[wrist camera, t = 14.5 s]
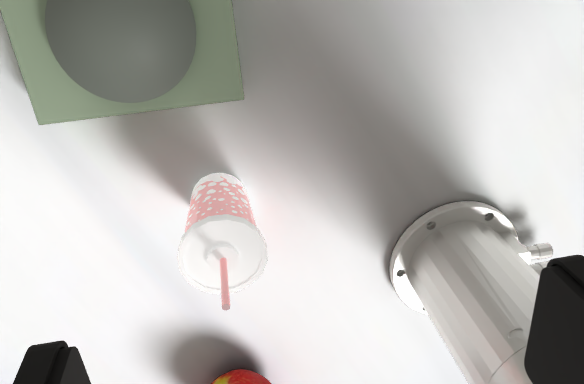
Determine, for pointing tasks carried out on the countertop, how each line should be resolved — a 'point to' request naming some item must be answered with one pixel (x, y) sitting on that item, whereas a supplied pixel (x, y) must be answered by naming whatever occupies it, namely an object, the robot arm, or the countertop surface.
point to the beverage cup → (221, 239)
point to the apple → (241, 378)
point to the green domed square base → (123, 55)
